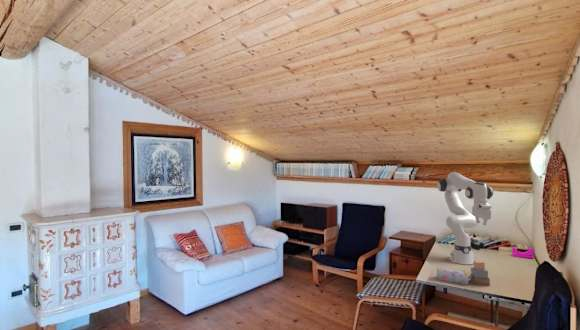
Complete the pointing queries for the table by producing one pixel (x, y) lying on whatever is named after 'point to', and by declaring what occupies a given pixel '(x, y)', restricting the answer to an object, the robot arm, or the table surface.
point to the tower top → (479, 273)
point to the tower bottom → (480, 280)
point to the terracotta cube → (479, 265)
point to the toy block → (523, 253)
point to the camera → (476, 244)
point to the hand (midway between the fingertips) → (481, 224)
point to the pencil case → (453, 275)
